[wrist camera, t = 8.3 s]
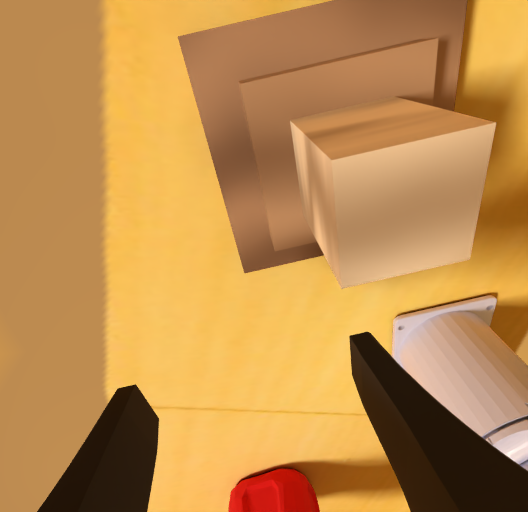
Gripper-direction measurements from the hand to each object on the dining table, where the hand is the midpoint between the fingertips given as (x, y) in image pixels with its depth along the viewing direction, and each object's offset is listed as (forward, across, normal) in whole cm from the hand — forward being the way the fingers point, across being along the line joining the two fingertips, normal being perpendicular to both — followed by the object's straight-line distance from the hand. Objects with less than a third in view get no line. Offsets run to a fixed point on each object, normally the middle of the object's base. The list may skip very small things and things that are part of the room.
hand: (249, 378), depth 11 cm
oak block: (+7, -6, -4) cm, 10 cm away
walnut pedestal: (+10, -6, -4) cm, 13 cm away
